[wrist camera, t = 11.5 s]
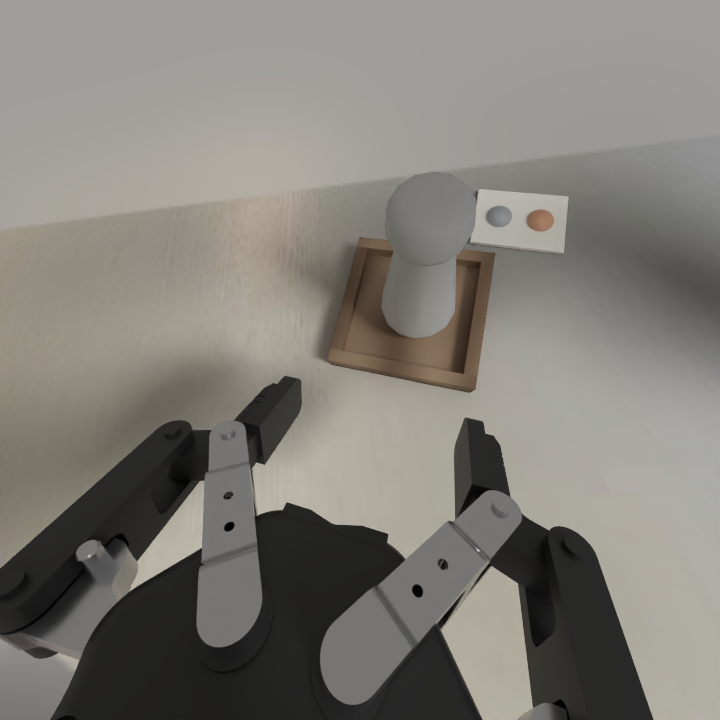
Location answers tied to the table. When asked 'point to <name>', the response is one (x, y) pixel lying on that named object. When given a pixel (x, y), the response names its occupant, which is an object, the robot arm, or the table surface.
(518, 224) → the card
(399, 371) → the walnut tray
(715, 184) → the table surface
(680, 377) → the table surface
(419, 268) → the salt shaker
